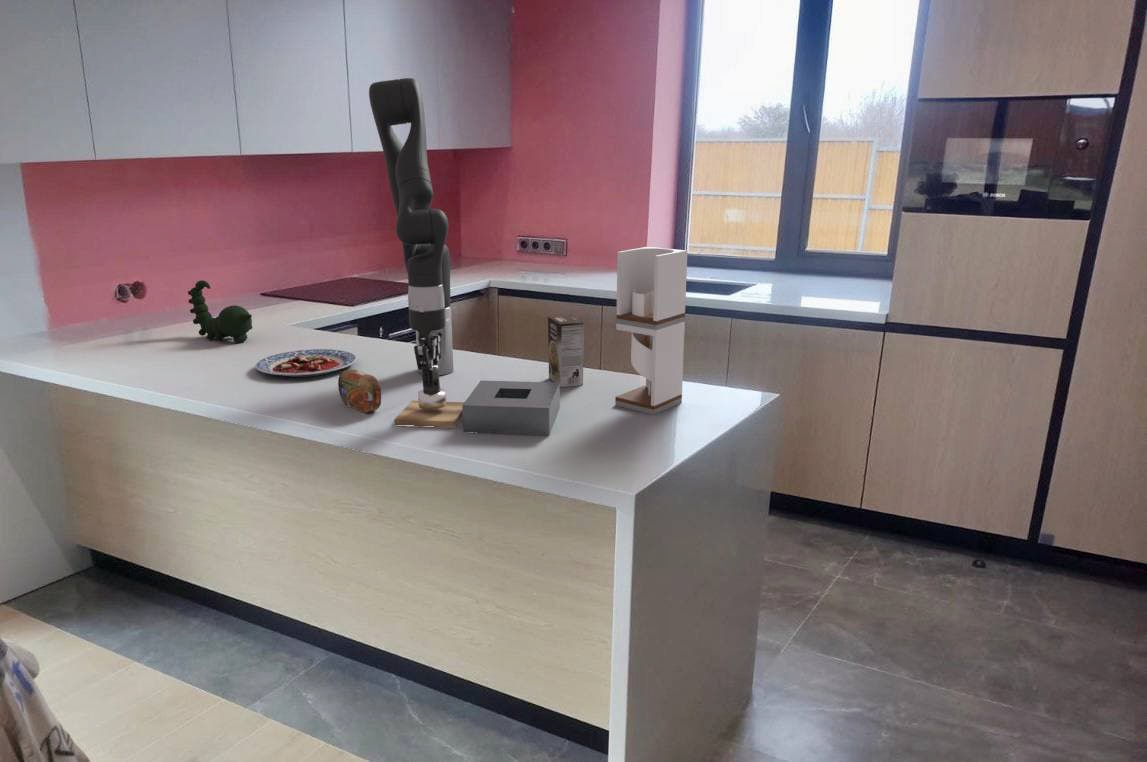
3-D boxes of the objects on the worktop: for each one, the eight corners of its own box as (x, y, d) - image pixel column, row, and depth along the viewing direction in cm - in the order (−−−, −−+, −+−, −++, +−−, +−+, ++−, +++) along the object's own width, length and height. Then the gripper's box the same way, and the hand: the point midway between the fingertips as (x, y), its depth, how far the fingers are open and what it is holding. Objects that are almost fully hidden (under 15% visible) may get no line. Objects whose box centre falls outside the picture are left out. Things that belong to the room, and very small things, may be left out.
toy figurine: (188, 344, 249) (243, 346, 237) (176, 282, 244) (231, 282, 232) (214, 338, 257) (269, 339, 245) (203, 278, 252) (258, 277, 240)
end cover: (422, 401, 180) (419, 361, 178) (449, 400, 180) (446, 361, 177) (415, 409, 175) (412, 369, 172) (443, 409, 174) (440, 369, 172)
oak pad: (412, 406, 185) (412, 400, 184) (468, 408, 184) (468, 402, 183) (394, 426, 172) (394, 419, 172) (454, 428, 171) (454, 421, 171)
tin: (338, 402, 189) (335, 367, 186) (350, 399, 191) (347, 364, 188) (372, 417, 178) (370, 380, 176) (385, 413, 180) (382, 377, 178)
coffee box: (547, 378, 207) (547, 316, 202) (571, 375, 209) (571, 314, 205) (559, 387, 199) (559, 323, 194) (584, 385, 201) (584, 321, 196)
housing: (481, 405, 186) (480, 380, 184) (559, 407, 184) (559, 382, 182) (463, 432, 168) (462, 405, 167) (549, 435, 167) (549, 407, 165)
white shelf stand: (643, 393, 194) (647, 246, 184) (681, 402, 188) (687, 250, 178) (615, 405, 186) (617, 251, 176) (653, 414, 179) (658, 256, 169)
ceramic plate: (328, 385, 202) (327, 373, 201) (235, 379, 207) (234, 368, 206) (373, 359, 226) (373, 348, 225) (289, 354, 231) (288, 344, 230)
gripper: (418, 299, 178) (423, 374, 183) (399, 312, 165) (404, 393, 169) (452, 299, 177) (455, 375, 182) (435, 313, 164) (439, 394, 169)
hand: (430, 383), depth 176 cm, fingers closed on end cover, 3 cm apart
